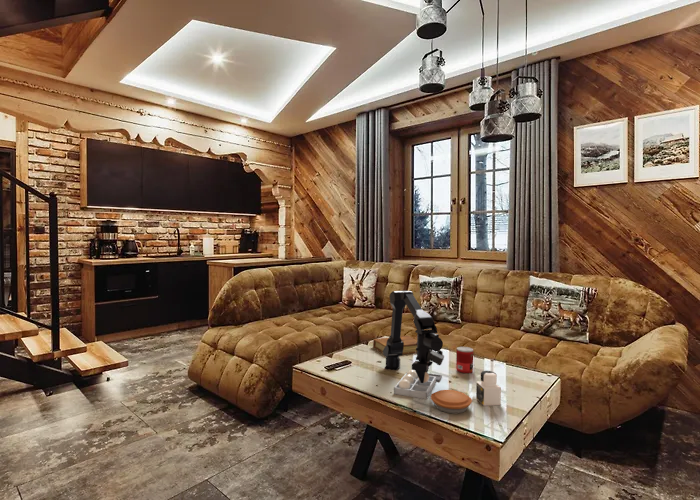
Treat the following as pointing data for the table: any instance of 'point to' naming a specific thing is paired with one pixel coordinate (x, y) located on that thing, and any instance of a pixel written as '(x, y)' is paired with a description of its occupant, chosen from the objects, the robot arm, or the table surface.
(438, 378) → the egg dish
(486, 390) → the medicine bottle
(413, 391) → the egg tray
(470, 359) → the canned food
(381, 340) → the diary
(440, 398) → the pie
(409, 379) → the white egg
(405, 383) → the white egg
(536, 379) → the table surface
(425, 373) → the brown egg
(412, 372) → the white egg
